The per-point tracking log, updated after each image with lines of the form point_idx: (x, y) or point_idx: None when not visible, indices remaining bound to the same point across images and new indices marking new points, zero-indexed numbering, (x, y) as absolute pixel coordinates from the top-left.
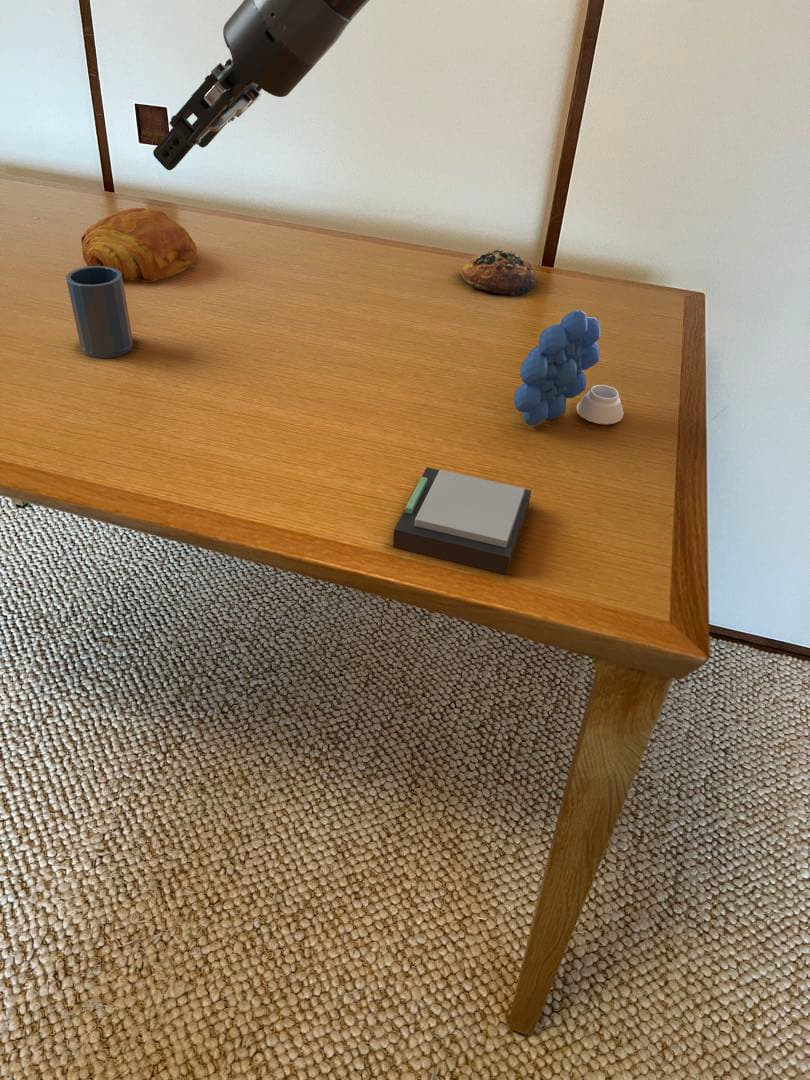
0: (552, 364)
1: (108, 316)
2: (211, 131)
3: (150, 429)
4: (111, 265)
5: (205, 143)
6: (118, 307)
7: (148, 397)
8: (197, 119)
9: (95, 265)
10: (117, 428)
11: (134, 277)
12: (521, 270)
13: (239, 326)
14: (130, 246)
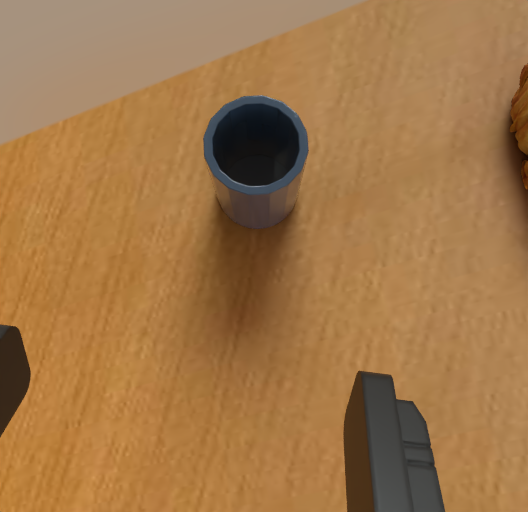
0: None
1: (218, 193)
2: (351, 491)
3: None
4: (517, 107)
5: (344, 443)
6: (236, 204)
7: (104, 300)
8: (366, 432)
9: (521, 78)
10: (13, 283)
11: (522, 151)
12: None
13: None
14: None
